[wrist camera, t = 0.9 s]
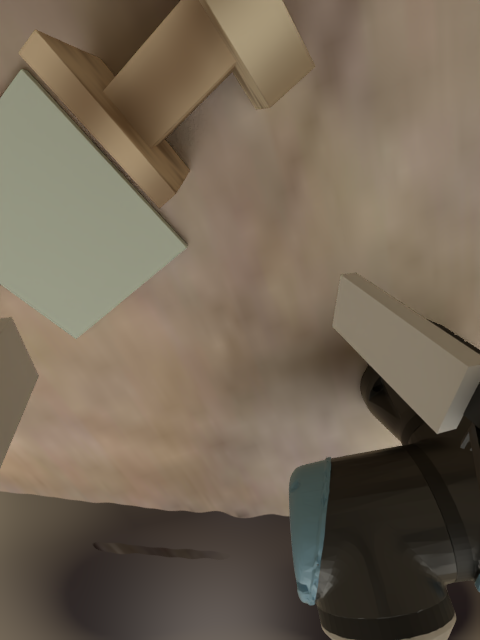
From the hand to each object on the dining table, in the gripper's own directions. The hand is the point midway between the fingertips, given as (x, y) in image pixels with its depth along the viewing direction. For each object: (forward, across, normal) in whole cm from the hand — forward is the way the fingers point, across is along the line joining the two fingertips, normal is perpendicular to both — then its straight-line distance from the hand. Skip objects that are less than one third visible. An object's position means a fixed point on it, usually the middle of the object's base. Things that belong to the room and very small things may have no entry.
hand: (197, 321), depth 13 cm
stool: (+20, -3, -10) cm, 23 cm away
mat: (+24, +10, +2) cm, 26 cm away
